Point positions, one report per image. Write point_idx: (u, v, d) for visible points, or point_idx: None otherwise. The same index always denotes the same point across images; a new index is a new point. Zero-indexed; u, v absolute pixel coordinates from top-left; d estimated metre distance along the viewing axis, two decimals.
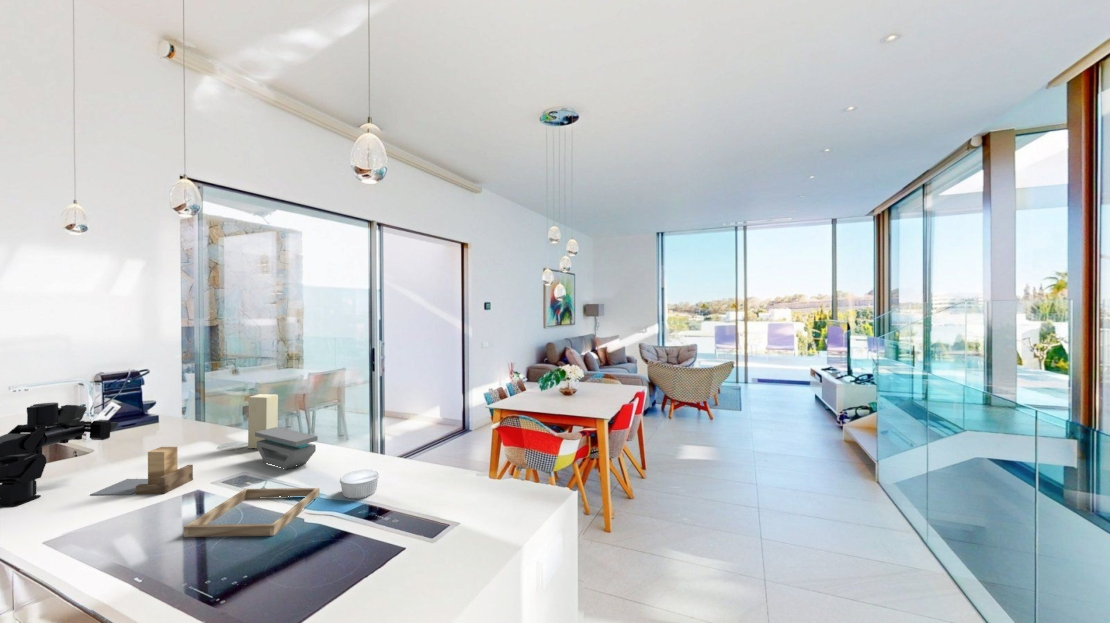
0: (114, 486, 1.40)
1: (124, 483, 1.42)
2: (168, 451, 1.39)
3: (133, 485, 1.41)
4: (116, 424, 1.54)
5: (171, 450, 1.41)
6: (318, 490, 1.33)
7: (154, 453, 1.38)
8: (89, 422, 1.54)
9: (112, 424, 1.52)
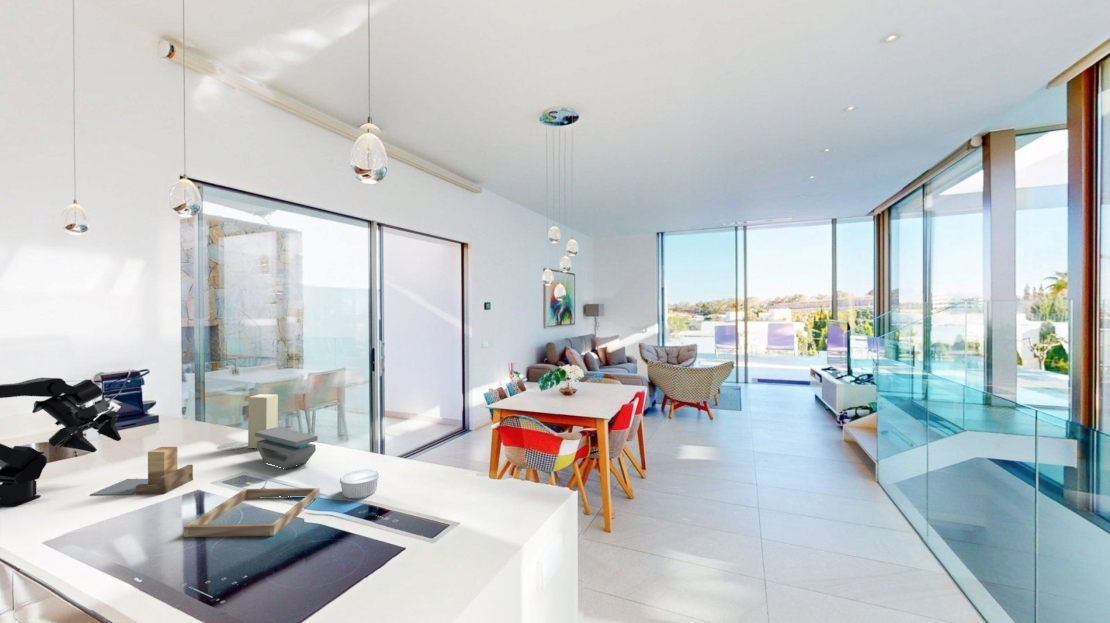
0: (114, 486, 1.40)
1: (124, 483, 1.42)
2: (168, 451, 1.39)
3: (133, 485, 1.41)
4: (91, 450, 1.36)
5: (171, 450, 1.41)
6: (318, 490, 1.33)
7: (154, 453, 1.38)
8: (118, 438, 1.46)
9: (85, 445, 1.35)
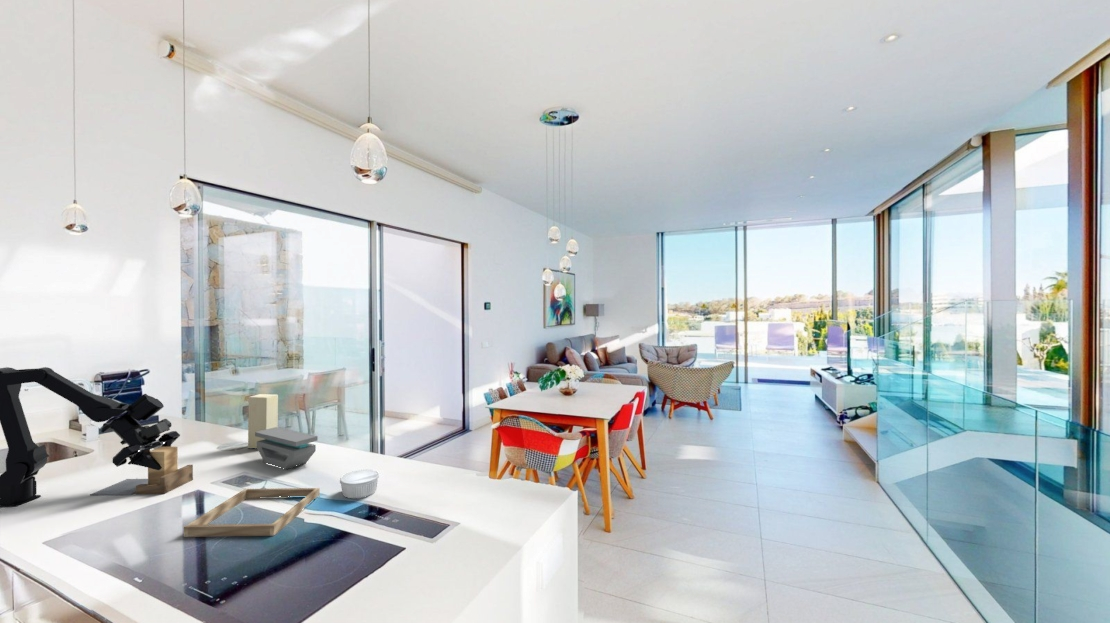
0: (114, 486, 1.40)
1: (124, 483, 1.42)
2: (168, 451, 1.39)
3: (133, 485, 1.41)
4: (157, 467, 1.37)
5: (171, 450, 1.41)
6: (318, 490, 1.33)
7: (154, 453, 1.38)
8: None
9: (151, 462, 1.37)
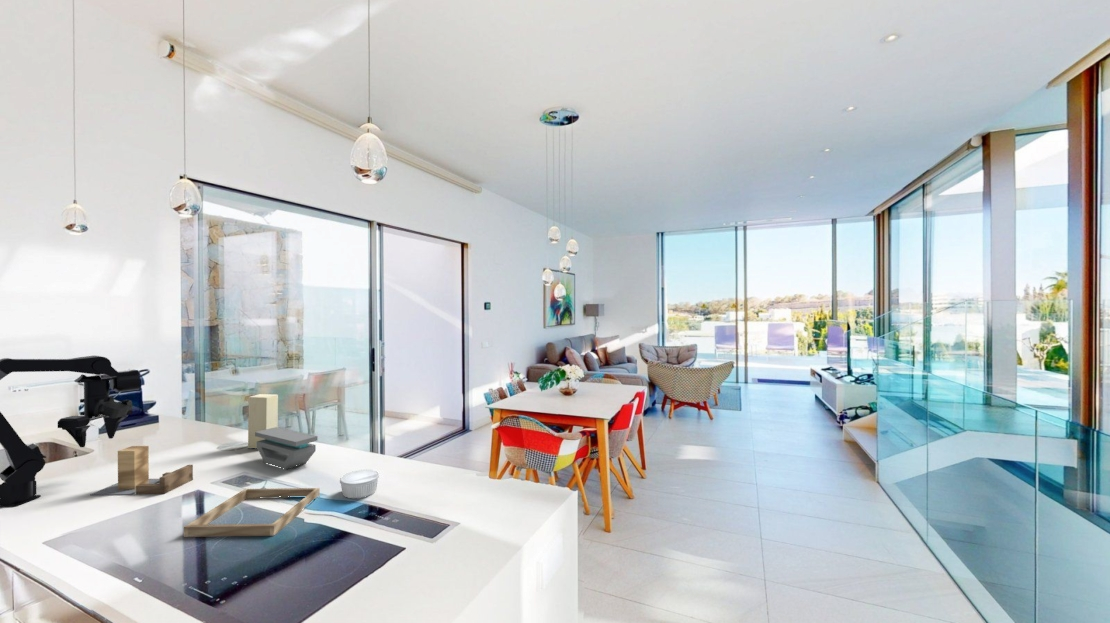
0: (114, 486, 1.40)
1: None
2: (138, 450, 1.39)
3: None
4: (81, 444, 1.38)
5: (142, 449, 1.40)
6: (318, 490, 1.33)
7: (124, 452, 1.37)
8: (111, 436, 1.48)
9: (80, 438, 1.38)
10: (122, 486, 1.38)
